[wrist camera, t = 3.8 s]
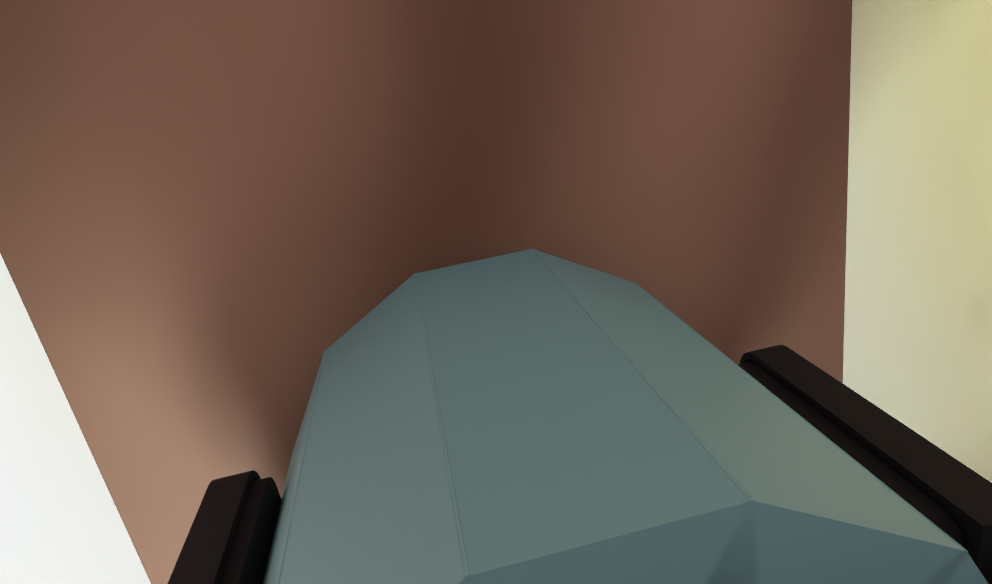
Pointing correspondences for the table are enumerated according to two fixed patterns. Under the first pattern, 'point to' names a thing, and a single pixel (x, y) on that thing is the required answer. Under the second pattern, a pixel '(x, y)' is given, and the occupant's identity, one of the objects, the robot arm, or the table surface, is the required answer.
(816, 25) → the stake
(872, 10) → the table surface
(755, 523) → the ring
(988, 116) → the table surface
